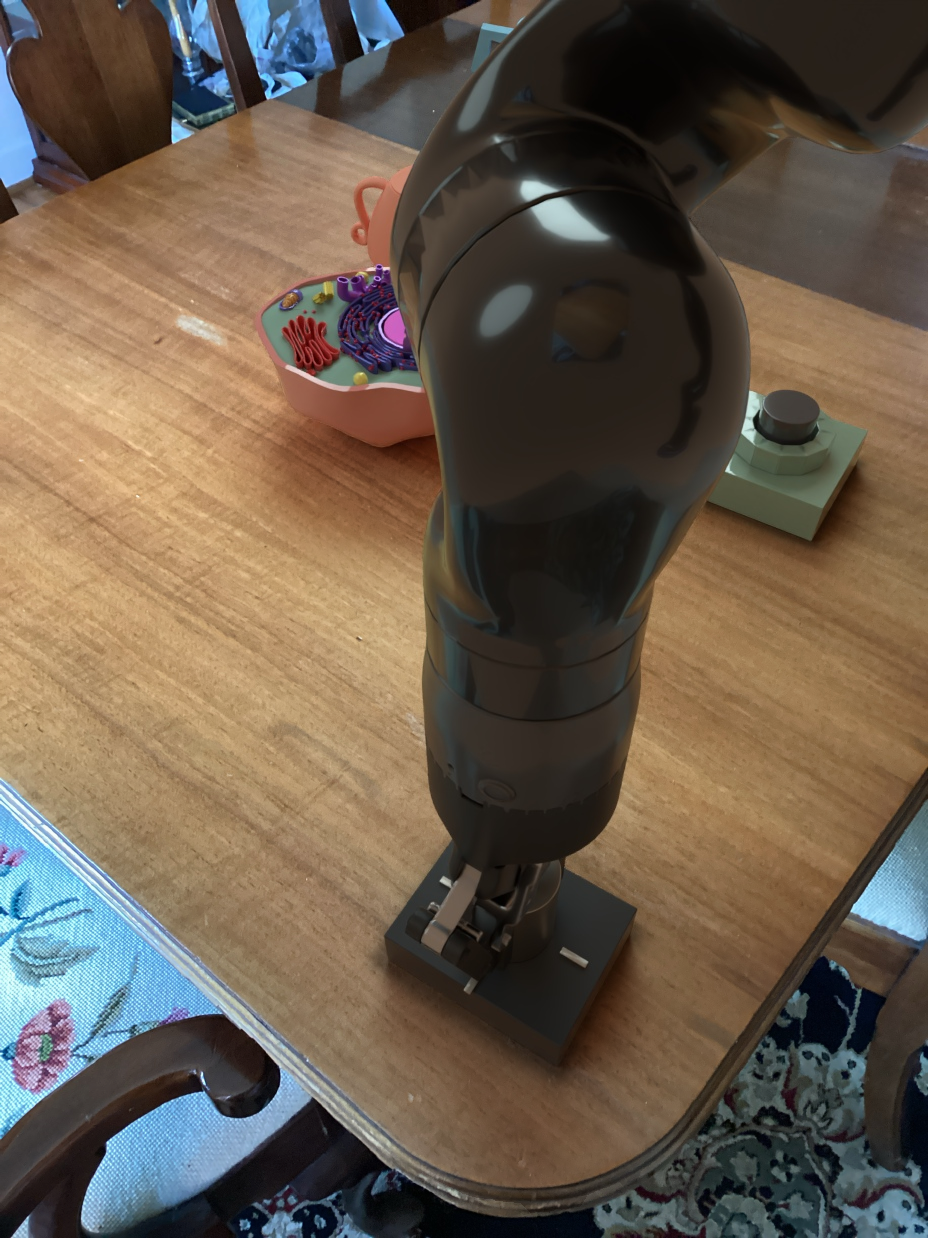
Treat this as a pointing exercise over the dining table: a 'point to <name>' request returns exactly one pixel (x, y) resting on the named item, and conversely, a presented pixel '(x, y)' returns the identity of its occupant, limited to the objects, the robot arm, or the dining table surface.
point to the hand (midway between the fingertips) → (514, 914)
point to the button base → (788, 473)
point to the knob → (538, 917)
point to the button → (788, 417)
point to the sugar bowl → (378, 215)
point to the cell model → (347, 356)
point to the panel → (527, 964)
